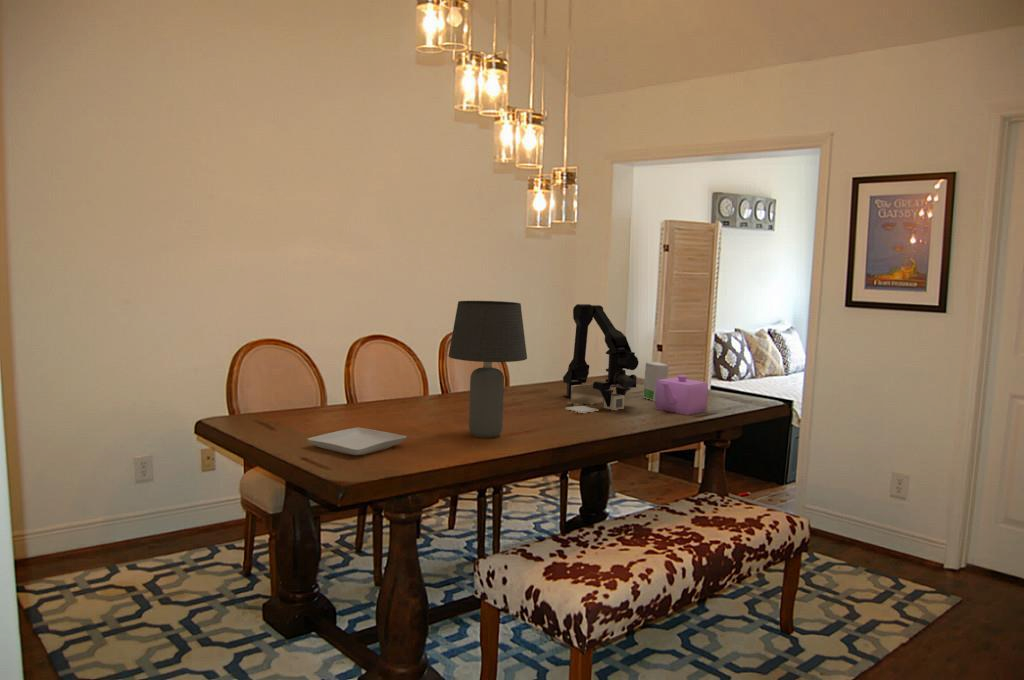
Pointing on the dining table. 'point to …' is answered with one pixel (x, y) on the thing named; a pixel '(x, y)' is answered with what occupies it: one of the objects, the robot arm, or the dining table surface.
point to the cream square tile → (582, 409)
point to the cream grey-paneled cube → (615, 402)
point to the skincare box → (653, 378)
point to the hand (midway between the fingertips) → (613, 406)
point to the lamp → (487, 356)
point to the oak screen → (585, 395)
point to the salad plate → (357, 441)
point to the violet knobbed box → (681, 395)
